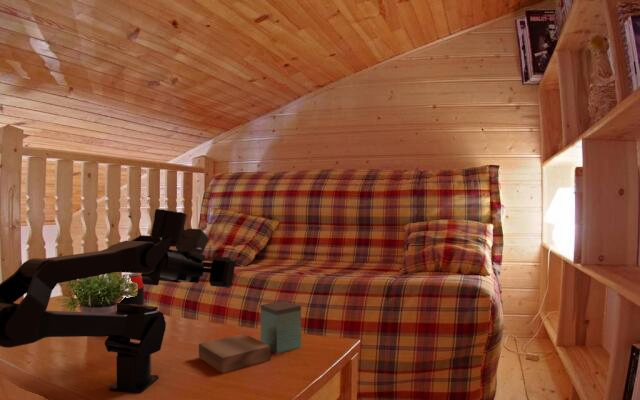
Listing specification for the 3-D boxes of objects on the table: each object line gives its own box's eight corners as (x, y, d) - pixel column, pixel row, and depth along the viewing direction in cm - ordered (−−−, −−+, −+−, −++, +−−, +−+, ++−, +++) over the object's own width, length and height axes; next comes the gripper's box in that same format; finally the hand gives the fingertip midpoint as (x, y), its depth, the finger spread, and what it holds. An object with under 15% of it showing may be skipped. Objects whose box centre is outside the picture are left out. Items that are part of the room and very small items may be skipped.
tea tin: (276, 353, 101) (276, 310, 100) (261, 346, 106) (260, 305, 106) (301, 347, 105) (300, 305, 105) (284, 340, 110) (284, 300, 110)
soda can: (127, 323, 125) (127, 279, 125) (108, 320, 128) (108, 277, 128) (149, 316, 132) (149, 274, 131) (130, 313, 135) (130, 272, 135)
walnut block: (222, 373, 90) (222, 358, 90) (198, 357, 98) (198, 343, 98) (270, 360, 97) (270, 346, 97) (244, 346, 105) (244, 333, 105)
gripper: (216, 227, 92) (257, 242, 105) (146, 224, 100) (193, 239, 113) (206, 283, 89) (249, 291, 103) (135, 276, 97) (184, 285, 110)
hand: (218, 275), depth 107 cm, fingers open, 9 cm apart
